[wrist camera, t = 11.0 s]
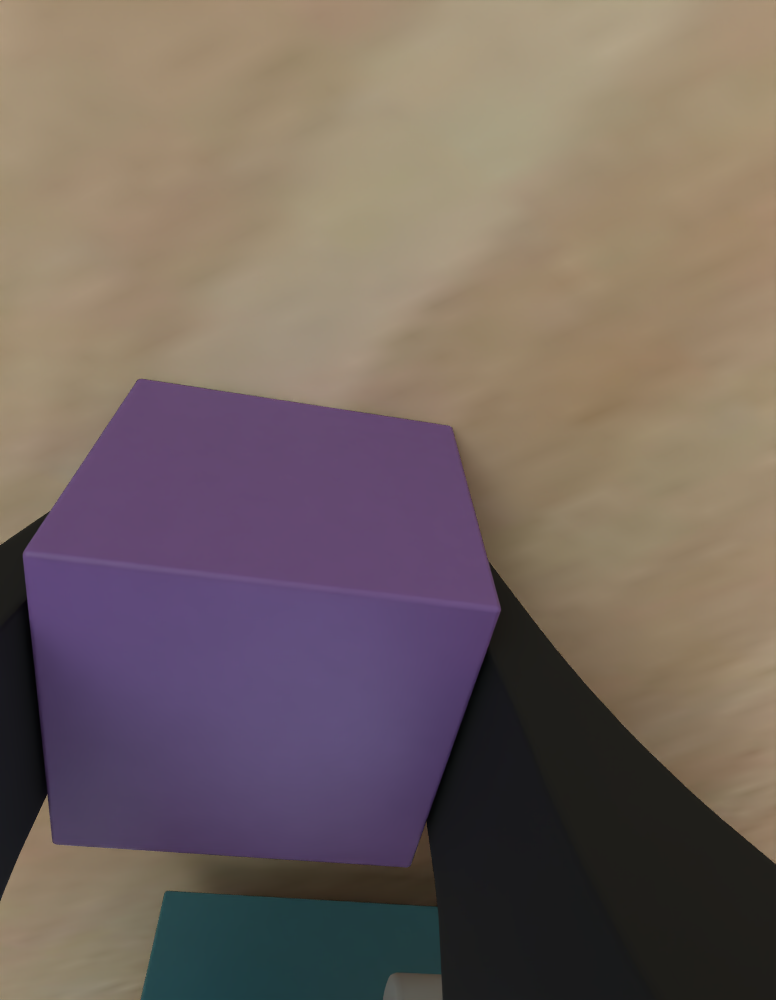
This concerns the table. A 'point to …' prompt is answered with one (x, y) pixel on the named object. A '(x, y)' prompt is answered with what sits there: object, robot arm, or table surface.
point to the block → (256, 629)
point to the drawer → (292, 950)
